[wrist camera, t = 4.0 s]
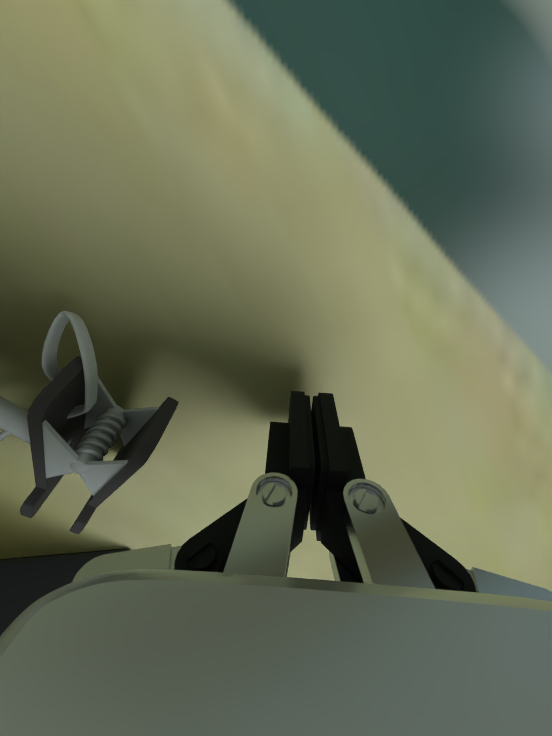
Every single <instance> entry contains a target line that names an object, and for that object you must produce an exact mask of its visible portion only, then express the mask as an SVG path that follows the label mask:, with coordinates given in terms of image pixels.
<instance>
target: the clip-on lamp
mask: <svg viewBox="0 0 552 736" xmlns="http://www.w3.org/2000/svg"><path fill="white" fill-rule="evenodd" d="M69 321H70V322H71V324H72V327H73V329H74V332H75V335H76V338H77V342H78V345H79V350H80V354H81V357H77V358H75V359H74V360H73V361H72V362H71V363H70V364H69V365H68V366H67V367H66V368H65V369H63V370H62V369H61V368H60V366H59V363H58V347H59V343H60V339H61V336H62V334H63V331H64V329H65V327H66V325H67V323H68V322H69ZM42 368H43V371H44V373H45V374H46V376H47V377H48V378H49V380H50V381H51V382H50V383H49V384H48V385H47V386H46V387H45V388H44V389H43V390H42V391H41V393H40V394H39V395H38V396H37V397H36V399H35V400H34V402H33V403H32V405H31V407H30V409H29V411H27V410H25V409H23V408H21V407H20V406H18V405H16V404H14V403H12V402H11V401H9V400H7V399H5V398H3V397H2V396H0V429H2V430H4V431H3V432H1V433H0V441H1V440H3V439H4V438H5V437H7V436H8V435H10V434H12V435H14V436H16V437H18V438H20V439H22V440H24V441H26V442H28V443H30V445H31V452H32V460H33V467H34V475H35V482H36V487H35V488H34V490H33V491H32V492H31V494H30V495H29V496H28V497H27V499H26V500H25V501H24V503H23V504H22V506H21V508H20V514H21V515H23V516H26V517H29V518H32V517H33V516H34V515H35V514H36V512H37V511H38V510H39V508H40V507H41V505H42V504H43V503H44V501H45V500H46V499H47V497H48V496H49V494H50V493H51V492H52V490H53V489H54V488H55V486H56V485H57V484H58V482H59V481H60V479H61V478H62V477H63V475H64V474H68V473H73V472H75V473H78V474H79V475H80V476H81V478H82V479H83V481H84V482H85V484H86V486H87V487H88V489H89V490H90V492H91V493H92V495H91V497H90V498H89V500H88V502H87V503H86V505H85V506H84V508H83V510H82V511H81V513H80V515H79V516H78V518H77V519H76V521H75V523H74V524H73V526H72V527H71V529H70V531H71V532H74V533H76V534H80V532H81V531H82V530H83V529H84V527H85V526H86V524H87V522H88V521H89V519H90V517H91V516H92V514H93V512H94V511H95V509H96V508H97V507H98V506H99V505H100V504H101V503H102V502H103V501H104V500H105V499H106V498H108V497H109V496H110V495H111V494H112V493H113V492H114V491H115V490H116V489H118V488H119V487H120V486H121V485H122V484H123V483H124V482H125V481H126V480H128V479H129V478H130V477H131V476H132V475H133V474H134V473H135V472H136V471H138V470H139V469H140V468H141V467H142V466H143V465H144V464H145V462H146V461H147V460H148V458H149V457H150V455H151V454H152V452H153V451H154V449H155V447H156V445H157V444H158V442H159V440H160V438H161V436H162V434H163V433H164V431H165V429H166V427H167V425H168V423H169V421H170V419H171V417H172V415H173V413H174V411H175V410H176V407H177V405H178V401H176V400H174V399H173V398H171V397H168V398H167V399H166V400H165V401H164V402H163V403H162V405H161V406H160V407H148V408H137V409H126V410H124V409H123V408H121V407H120V406H117V405H116V404H115V402H114V400H113V399H112V397H111V396H110V394H109V393H108V391H107V390H106V388H105V386H104V385H103V383H102V382H101V380H100V379H99V377H98V370H97V362H96V357H95V352H94V348H93V344H92V341H91V338H90V335H89V332H88V329H87V327H86V325H85V323H84V321H83V320H82V319H81V318H80V316H79V315H77V314H75V313H72V312H69V311H62V312H60V313H59V314H58V315H57V316H56V317H55V319H54V320H53V322H52V324H51V326H50V328H49V331H48V333H47V336H46V339H45V342H44V346H43V351H42ZM117 435H120V437H121V440H122V442H123V446H122V447H121V449H120V450H119V452H118V453H117V455H116V457H115V458H114V460H113V461H103V456H105V455H106V454H107V453H108V449H109V448H111V447H112V445H113V442H114V441H116V439H117Z"/></svg>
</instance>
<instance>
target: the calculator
mask: <svg viewBox="0 0 552 736" xmlns="http://www.w3.org/2000/svg"><path fill="white" fill-rule="evenodd" d="M123 551H129V550H128V549H120V550H109V551H98V552H86V553H75V554H63V555H52V556H41V557H29V558H18V559H6V560H0V636H1V635H2V633H3V632H4V631H5V630H6V629H7V628H8V627H9V626H10V624H11V623H12V622H13V621H14V620H15V619H16V618H17V617H18V616H19V615H20V614H21V613H22V612H23V611H24V610H25V609H27V608H28V607H29V606H30V605H31V604H33V603H34V602H35V601H37V600H38V599H40V598H41V597H43V596H45V595H47V594H48V593H50V592H52V591H54V590H56V589H58V588H61V587H63V586H65V585H67V584H70V583H72V581H73V579H74V577H75V575H76V574H77V572H78V571H79V570H80V569H81V568H82V567H83V566H84V565H85V564H86V563H87V562H89V561H90V560H92V559H93V558H95V557H98V556H101V555H104V554H110V553H117V552H123Z"/></svg>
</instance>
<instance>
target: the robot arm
mask: <svg viewBox="0 0 552 736" xmlns="http://www.w3.org/2000/svg"><path fill="white" fill-rule="evenodd" d="M309 511H310V528H311V530H316V537H317V541H321V543H322V544H323V545H324V546H325V547H326V548H327V549H328V550H329V557H330V562H331V566H332V571H333V575H334V579H335V581H329V580H317V579H304V578H290V577H287V572H288V566H289V559H290V552H291V551H292V550H293V549H294V548H295V547H296V546H297V545H299V544H300V543H301V542H302V537H303V531H304V530H306V528H307V522H308V516H309ZM0 736H552V592H551V591H549V590H547V589H545V588H541V587H538V586H534V585H531V584H528V583H524V582H521V581H518V580H514V579H511V578H508V577H504V576H501V575H498V574H494V573H491V572H488V571H484V570H481V569H478V568H474V567H472V569H471V570H468V569H465V568H464V566H463V565H461V564H460V563H459V562H458V561H457V560H456V559H455V558H453V557H452V556H451V555H449V554H448V553H447V552H445V551H444V550H443V549H441V548H440V547H439V546H437V545H436V544H435V543H433V542H432V541H431V540H429V539H428V538H427V537H425V536H424V535H423V534H421V533H420V532H419V531H417V530H416V529H415V528H413V527H412V526H411V525H409V524H408V523H407V522H405V521H404V520H403V519H401V518H400V517H399V515H398V513H397V511H396V509H395V507H394V505H393V503H392V501H391V499H390V497H389V495H388V494H387V492H386V491H385V490H384V489H383V488H382V487H381V486H380V485H378V484H377V483H375V482H373V481H370V480H367V479H365V475H364V471H363V467H362V463H361V460H360V456H359V452H358V448H357V444H356V441H355V437H354V433H353V430H352V428H351V427H340V426H339V421H338V416H337V411H336V407H335V402H334V397H333V394H330V393H319V394H318V396H313V401H312V409H311V406H310V396H306V395H305V392H300V391H291V396H290V408H289V419H288V423H281V422H270V430H269V440H268V450H267V460H266V470H265V474H263V475H261V476H259V477H258V478H257V479H256V480H255V481H254V483H253V485H252V487H251V490H250V493H249V496H248V498H247V499H246V500H244V501H243V502H242V503H240V504H239V505H237V506H236V507H234V508H233V509H232V510H230V511H229V512H227V513H226V514H224V515H223V516H222V517H220V518H219V519H217V520H216V521H214V522H213V523H212V524H210V525H209V526H207V527H206V528H204V529H203V530H201V531H200V532H199V533H197V534H196V535H194V536H193V537H191V538H190V539H189V540H188V541H187V542H185V543H184V544H183V545H182V546H177V547H171V544H167V545H161V546H155V547H148V548H142V549H136V550H129V551H123V552H117V553H110V554H104V555H101V556H98V557H95V558H93V559H92V560H90V561H89V562H87V563H86V564H85V565H84V566H83V567H82V568H81V569H80V570H79V571H78V572H77V574H76V575H75V577H74V579H73V581H72V583H70V584H67V585H65V586H63V587H61V588H58V589H56V590H54V591H52V592H50V593H48V594H47V595H45V596H43V597H41V598H40V599H38V600H37V601H35V602H34V603H33V604H31V605H30V606H29V607H28V608H27V609H25V610H24V611H23V612H22V613H21V614H20V615H19V616H18V617H17V618H16V619H15V620H14V621H13V622H12V623H11V624H10V626H9V627H8V628H7V629H6V630H5V631H4V632H3V633H2V635H1V636H0Z"/></svg>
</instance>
